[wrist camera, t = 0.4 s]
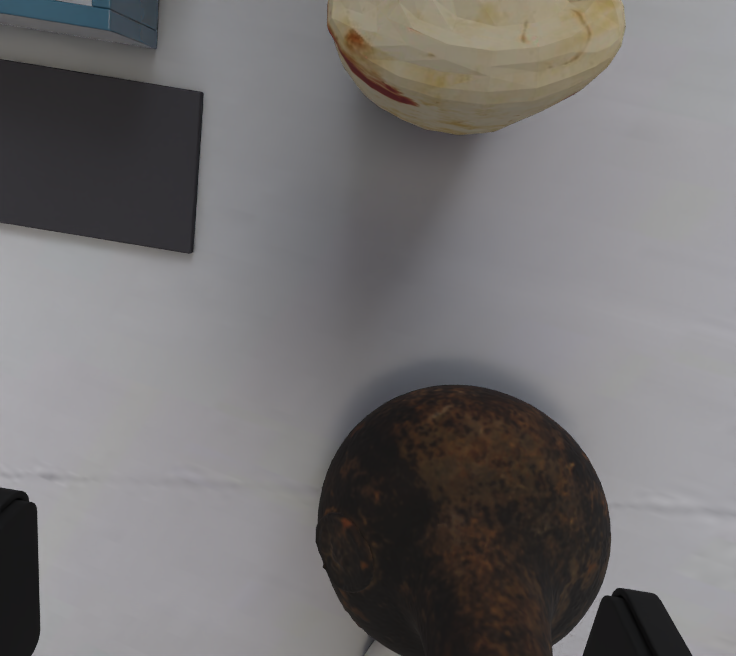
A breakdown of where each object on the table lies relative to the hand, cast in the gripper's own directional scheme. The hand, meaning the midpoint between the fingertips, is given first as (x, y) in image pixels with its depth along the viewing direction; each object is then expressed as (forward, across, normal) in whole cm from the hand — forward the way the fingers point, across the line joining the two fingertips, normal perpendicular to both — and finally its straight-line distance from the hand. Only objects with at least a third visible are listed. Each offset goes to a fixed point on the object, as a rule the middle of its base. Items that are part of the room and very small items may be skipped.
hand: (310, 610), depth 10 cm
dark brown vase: (+31, -8, +14) cm, 35 cm away
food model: (+31, -2, -12) cm, 33 cm away
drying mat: (+30, +22, -4) cm, 38 cm away
